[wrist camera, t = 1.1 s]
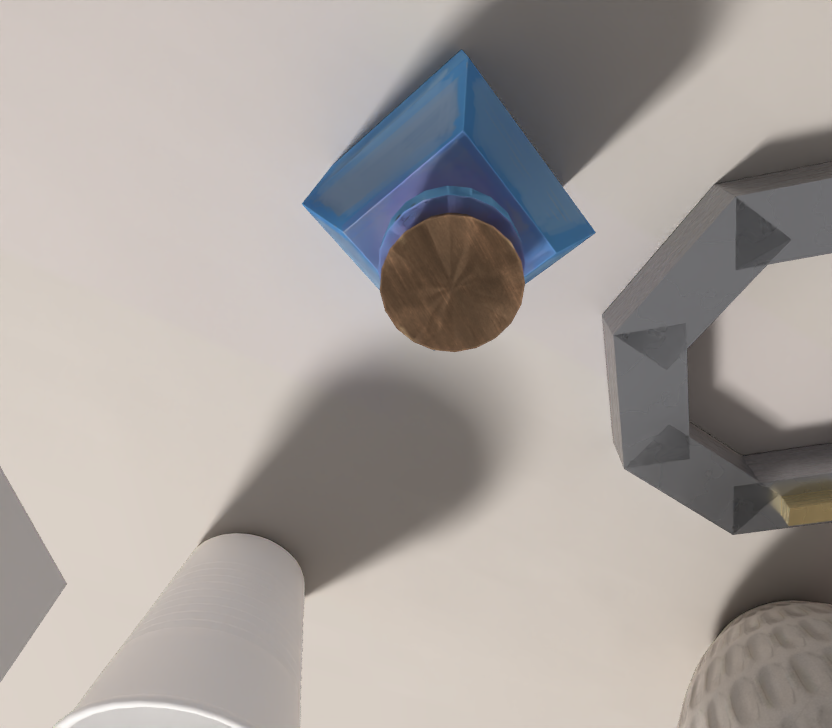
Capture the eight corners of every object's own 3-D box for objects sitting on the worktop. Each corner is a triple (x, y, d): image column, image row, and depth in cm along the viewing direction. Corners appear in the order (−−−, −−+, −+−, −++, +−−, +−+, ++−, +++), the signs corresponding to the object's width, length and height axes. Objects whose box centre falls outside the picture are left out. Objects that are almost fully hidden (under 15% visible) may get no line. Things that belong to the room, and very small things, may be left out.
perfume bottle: (561, 187, 25) (650, 306, 14) (435, 284, 27) (432, 452, 16) (461, 49, 23) (478, 67, 12) (332, 165, 25) (251, 267, 14)
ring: (592, 207, 25) (609, 227, 23) (1033, 122, 23) (1104, 133, 21) (620, 519, 32) (635, 560, 30) (963, 472, 30) (1010, 512, 28)
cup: (349, 511, 33) (310, 720, 23) (334, 649, 37) (295, 872, 27) (148, 485, 32) (20, 685, 22) (157, 627, 37) (53, 845, 27)
